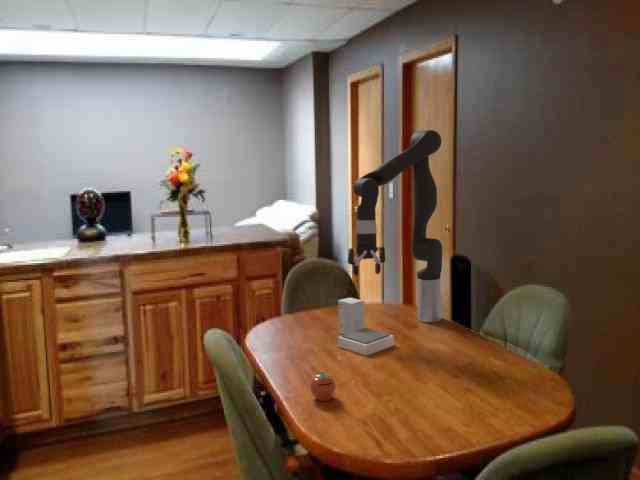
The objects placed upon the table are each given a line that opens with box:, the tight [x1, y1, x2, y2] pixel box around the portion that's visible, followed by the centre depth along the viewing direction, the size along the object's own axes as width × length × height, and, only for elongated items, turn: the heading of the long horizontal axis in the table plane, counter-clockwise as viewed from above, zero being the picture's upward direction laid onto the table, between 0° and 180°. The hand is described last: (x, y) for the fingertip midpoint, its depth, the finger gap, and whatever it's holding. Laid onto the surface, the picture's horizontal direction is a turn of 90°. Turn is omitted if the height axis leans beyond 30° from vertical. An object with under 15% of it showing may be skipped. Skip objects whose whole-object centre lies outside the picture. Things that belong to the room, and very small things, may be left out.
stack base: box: [337, 327, 395, 356], centre depth 204 cm, size 14×14×4 cm
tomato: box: [309, 370, 337, 402], centre depth 161 cm, size 7×7×8 cm
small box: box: [337, 297, 366, 335], centre depth 218 cm, size 8×6×13 cm
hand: (366, 274), depth 217 cm, fingers open, 8 cm apart
